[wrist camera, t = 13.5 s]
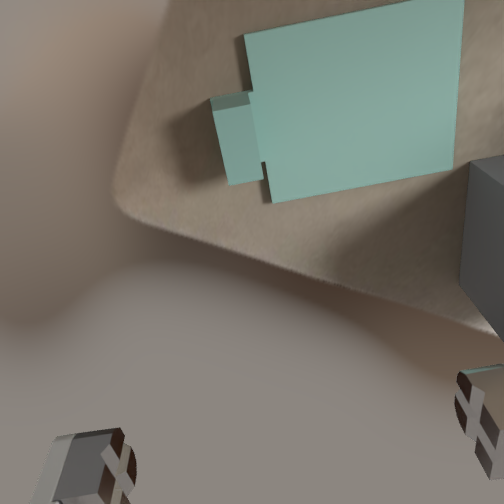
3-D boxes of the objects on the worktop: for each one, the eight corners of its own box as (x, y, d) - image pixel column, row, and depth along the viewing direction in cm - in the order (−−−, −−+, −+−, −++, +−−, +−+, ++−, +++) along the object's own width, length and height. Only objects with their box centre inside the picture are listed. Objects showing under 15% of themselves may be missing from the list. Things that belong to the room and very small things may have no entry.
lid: (198, 43, 28) (195, 51, 25) (459, -11, 28) (492, -10, 24) (234, 206, 35) (236, 230, 31) (447, 165, 34) (473, 186, 31)
